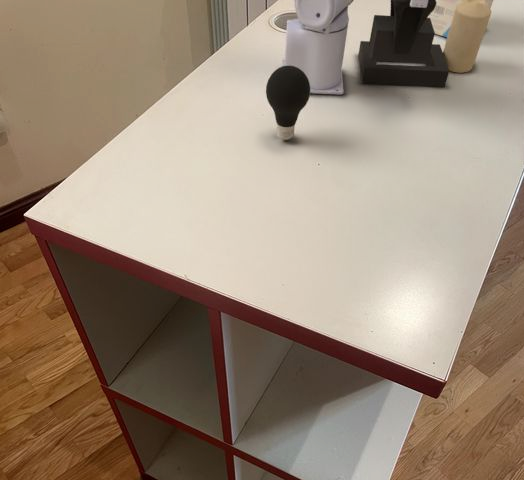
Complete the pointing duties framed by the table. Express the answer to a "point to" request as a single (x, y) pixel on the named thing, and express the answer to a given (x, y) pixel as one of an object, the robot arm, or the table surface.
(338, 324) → the table surface
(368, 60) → the socket pad
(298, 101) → the light bulb
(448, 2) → the ink box
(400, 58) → the small block
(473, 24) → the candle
